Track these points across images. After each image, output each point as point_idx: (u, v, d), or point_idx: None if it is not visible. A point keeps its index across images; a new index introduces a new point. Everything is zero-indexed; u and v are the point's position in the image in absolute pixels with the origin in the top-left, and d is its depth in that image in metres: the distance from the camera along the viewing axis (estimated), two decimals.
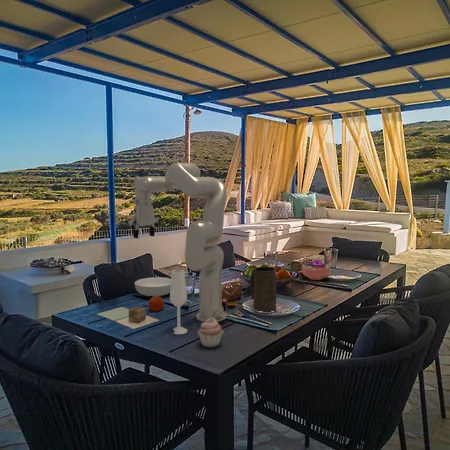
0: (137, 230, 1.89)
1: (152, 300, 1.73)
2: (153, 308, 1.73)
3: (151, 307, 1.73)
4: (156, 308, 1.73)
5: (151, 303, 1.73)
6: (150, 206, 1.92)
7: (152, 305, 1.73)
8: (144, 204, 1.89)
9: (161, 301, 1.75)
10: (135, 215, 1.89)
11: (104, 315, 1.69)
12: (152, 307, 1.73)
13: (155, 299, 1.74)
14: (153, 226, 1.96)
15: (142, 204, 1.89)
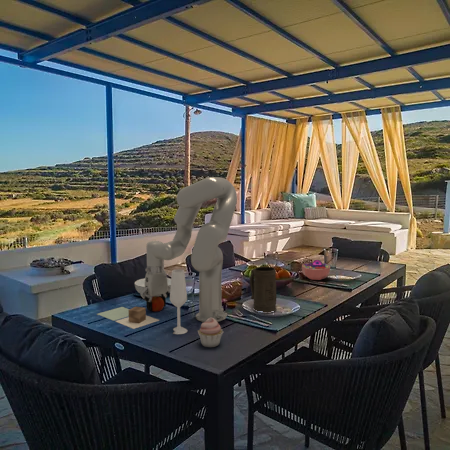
0: (151, 302, 1.72)
1: (152, 300, 1.74)
2: (153, 308, 1.73)
3: None
4: (156, 308, 1.73)
5: None
6: (163, 273, 1.75)
7: (152, 305, 1.73)
8: (157, 272, 1.71)
9: (161, 301, 1.75)
10: (147, 284, 1.71)
11: (104, 315, 1.69)
12: (152, 307, 1.73)
13: (155, 299, 1.74)
14: (164, 295, 1.78)
15: (154, 272, 1.71)
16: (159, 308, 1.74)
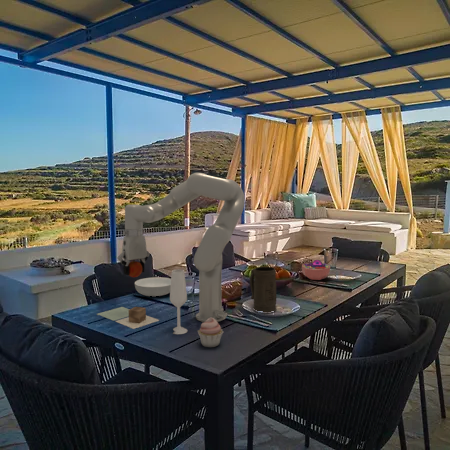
0: (128, 266, 1.68)
1: (130, 265, 1.69)
2: (130, 272, 1.69)
3: None
4: (133, 272, 1.69)
5: None
6: (142, 237, 1.71)
7: (129, 269, 1.69)
8: (135, 236, 1.67)
9: (139, 266, 1.70)
10: (124, 248, 1.67)
11: (104, 315, 1.69)
12: (129, 271, 1.69)
13: (133, 263, 1.70)
14: (143, 261, 1.74)
15: (132, 236, 1.67)
16: (137, 273, 1.70)
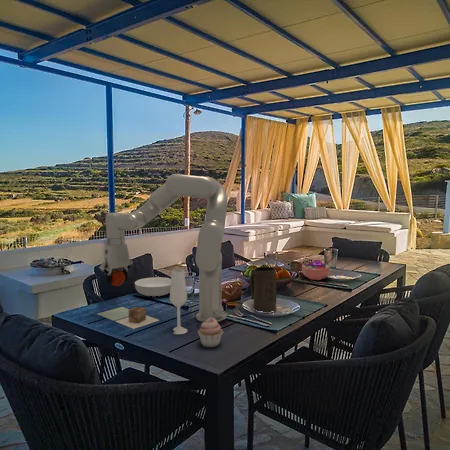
0: (110, 275, 1.66)
1: (112, 273, 1.68)
2: (113, 281, 1.67)
3: None
4: (116, 281, 1.67)
5: None
6: (124, 246, 1.69)
7: (112, 278, 1.67)
8: (116, 244, 1.65)
9: (121, 274, 1.69)
10: (106, 257, 1.65)
11: (104, 315, 1.69)
12: None
13: (115, 272, 1.68)
14: (126, 269, 1.72)
15: (114, 244, 1.65)
16: (119, 281, 1.68)
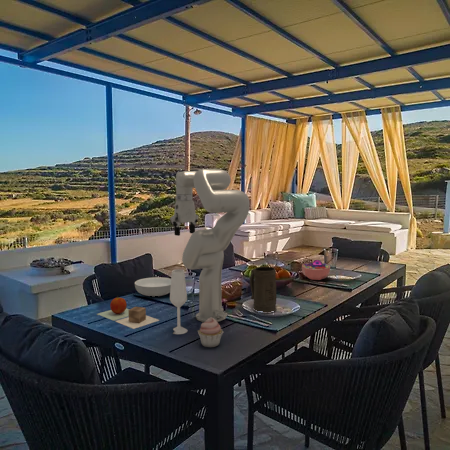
0: (179, 227, 1.81)
1: (114, 302, 1.69)
2: (114, 309, 1.69)
3: (112, 309, 1.69)
4: (117, 309, 1.69)
5: (112, 304, 1.69)
6: (191, 202, 1.85)
7: (113, 306, 1.68)
8: (186, 200, 1.81)
9: (123, 302, 1.70)
10: (177, 211, 1.81)
11: (104, 315, 1.69)
12: (113, 308, 1.69)
13: (117, 300, 1.69)
14: (194, 223, 1.89)
15: (184, 200, 1.81)
16: (121, 310, 1.69)
